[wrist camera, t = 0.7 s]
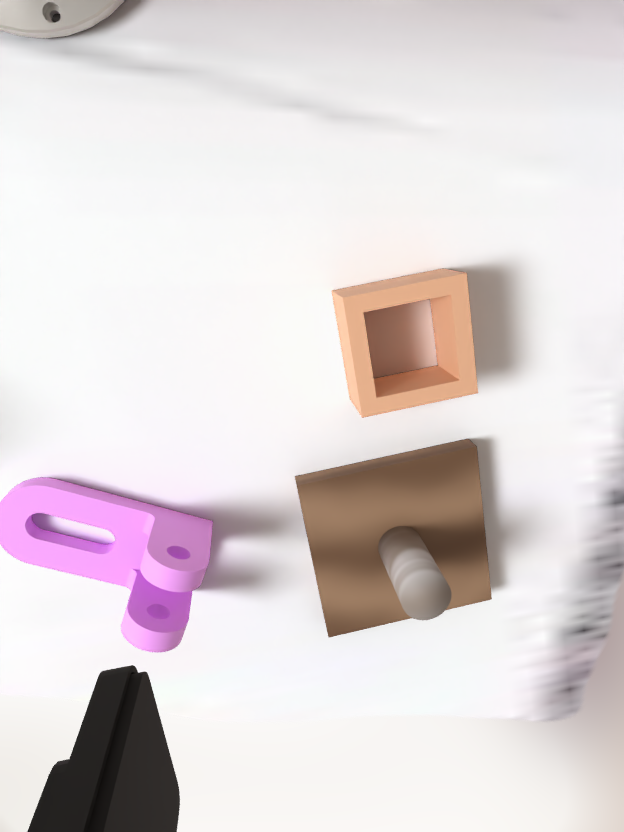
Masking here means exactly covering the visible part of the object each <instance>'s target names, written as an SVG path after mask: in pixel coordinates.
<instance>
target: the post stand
mask: <svg viewBox="0 0 624 832" xmlns="http://www.w3.org/2000/svg"><path fill="white" fill-rule="evenodd" d="M295 480H296V484H297V489H298V494H299V499H300V503H301V508H302V513H303V518H304V523H305V527H306V532H307V537H308V542H309V546H310V551H311V556H312V561H313V566H314V570H315V575H316V580H317V585H318V589H319V594H320V599H321V604H322V609H323V613H324V618H325V623H326V627H327V632H328V636H329V637H333V636H337V635H341V634H346V633H350V632H354V631H358V630H363V629H367V628H371V627H375V626H380V625H384V624H388V623H393V622H397V621H401V620H405V619H410V618H414V619H417V620H429V619H432V618H435V617H437V616H439V615H440V614H442V613H443V612H444V611H445V610H448V609H452V608H457V607H461V606H465V605H469V604H474V603H478V602H482V601H486V600H491V599H492V598H491V588H490V578H489V567H488V557H487V547H486V537H485V526H484V516H483V506H482V496H481V486H480V475H479V465H478V455H477V446H476V445H475V444H473V443H472V442H471V441H470V440H469V439H465V440H460V441H455V442H451V443H446V444H442V445H437V446H432V447H428V448H423V449H419V450H414V451H409V452H405V453H400V454H396V455H391V456H386V457H382V458H377V459H373V460H368V461H364V462H359V463H354V464H350V465H345V466H341V467H336V468H331V469H327V470H322V471H318V472H313V473H308V474H304V475H299V476H295Z"/></svg>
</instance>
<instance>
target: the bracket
mask: <svg viewBox="0 0 624 832" xmlns="http://www.w3.org/2000/svg"><path fill="white" fill-rule="evenodd" d="M35 513H44V514H48V515H52V516H56V517H60V518H64V519H68V520H72V521H76V522H79V523H83V524H87V525H91V526H95V527H99V528H103V529H106V530H108V531H110V532H111V533H112V534H113V535H114V537H115V540H116V541H115V542H113V543H111V544H99V543H95V542H91V541H87V540H83V539H79V538H75V537H71V536H67V535H63V534H59V533H55V532H51V531H47V530H43V529H40V528H39V527H37V526H36V525H35V524H34V522H33V520H32V514H35ZM212 526H213V521H211V520H207V519H203V518H200V517H196V516H192V515H188V514H185V513H181V512H177V511H173V510H170V509H166V508H162V507H159V506H155V505H151V504H147V503H144V502H140V501H136V500H132V499H129V498H125V497H121V496H118V495H114V494H110V493H106V492H103V491H99V490H95V489H92V488H88V487H84V486H80V485H77V484H73V483H69V482H65V481H62V480H58V479H54V478H44V477H42V478H33V479H29V480H26V481H23V482H21V483H20V484H18V485H16V486H15V487H14V488H13V489H11V491H10V492H9V493H8V494H7V495H6V496H5V497H4V498H3V499H2V501H1V502H0V544H1V546H2V547H3V548H4V549H5V550H6V551H7V552H8V553H9V554H10V555H12V556H13V557H15V558H16V559H18V560H20V561H23V562H25V563H29V564H33V565H37V566H41V567H45V568H50V569H54V570H58V571H62V572H66V573H71V574H75V575H79V576H83V577H88V578H92V579H96V580H100V581H104V582H109V583H113V584H117V585H121V586H125V587H127V588H129V589H130V591H131V594H130V597H129V600H128V604H127V607H126V611H125V614H124V617H123V621H122V624H121V631H122V634H123V636H124V637H125V639H126V640H127V641H128V642H129V643H130V644H132V645H133V646H135V647H137V648H139V649H142V650H145V651H149V652H165V651H169V650H172V649H174V648H175V647H177V646H178V645H179V643H180V642H181V640H182V637H183V634H184V631H185V628H186V626H187V623H188V620H189V612H190V605H191V597H192V591H193V590H195V589H197V588H198V587H199V586H200V585H201V583H202V581H203V578H204V575H205V572H206V569H207V567H208V564H209V560H210V549H211V537H212Z"/></svg>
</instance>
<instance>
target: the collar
mask: <svg viewBox="0 0 624 832" xmlns="http://www.w3.org/2000/svg"><path fill="white" fill-rule="evenodd" d="M332 296H333V301H334V307H335V313H336V319H337V325H338V331H339V337H340V343H341V349H342V355H343V361H344V367H345V373H346V379H347V385H348V391H349V397H350V400H351V401H352V403H353V404H354V406H355V407H356V409H357V410H358V412H359V413H360V415H361V417H362V418H363V417H368V416H373V415H377V414H382V413H387V412H392V411H396V410H401V409H406V408H410V407H415V406H420V405H424V404H429V403H434V402H438V401H443V400H448V399H453V398H457V397H462V396H467V395H471V394H476V393H478V388H477V377H476V366H475V356H474V345H473V334H472V324H471V313H470V302H469V292H468V281H467V273H464V272H459V271H454V270H448V269H438V270H433V271H428V272H423V273H418V274H413V275H408V276H402V277H397V278H392V279H387V280H382V281H377V282H372V283H367V284H362V285H357V286H352V287H347V288H342V289H337V290H332ZM427 299H430V302H431V311H432V319H433V328H434V337H435V345H436V354H437V363H438V365H437V366H432V367H428V368H423V369H418V370H413V371H408V372H404V373H399V374H394V375H389V376H385V377H380V378H375V379H374V378H373V372H372V365H371V359H370V352H369V345H368V339H367V332H366V326H365V319H364V313H363V312H368V311H373V310H378V309H383V308H388V307H392V306H397V305H402V304H407V303H412V302H417V301H422V300H427Z"/></svg>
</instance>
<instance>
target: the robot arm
mask: <svg viewBox="0 0 624 832" xmlns="http://www.w3.org/2000/svg"><path fill="white" fill-rule="evenodd" d="M124 1H125V0H0V30H1V31H4V32H8V33H11V34H14V35H18V36H24V37H35V38H52V37H61V36H69V35H71V34H74V33H77V32H80V31H83V30H86V29H89V28H91V27H93V26H94V25H96V24H97V23H99V22H100V21H102V20H104V19H105V18H107V17H108V16H110V15H111V14H112V13H113V12H114V11H115V10H116V9H117V8H118V7H119V6H120V5H121V4H122V3H123V2H124ZM56 13H58V14H60V15H61V18H60V20H59V21H58V22H56V23H55V22H53V21H52V17H53V15H54V14H56ZM179 805H180V796H179V787H178V782H177V778H176V775H175V771H174V768H173V764H172V760H171V757H170V753H169V749H168V746H167V742H166V738H165V735H164V731H163V727H162V724H161V720H160V717H159V713H158V709H157V705H156V702H155V698H154V694H153V691H152V687H151V683H150V680H149V676H148V674H147V672H140V673H138V672H137V669H136V667H135V666H133V665H132V666H126V667H121V668H116V669H111V670H106V671H102V672H101V673H100V675H99V677H98V679H97V682H96V685H95V688H94V691H93V694H92V696H91V699H90V702H89V705H88V708H87V711H86V714H85V716H84V720H83V722H82V725H81V728H80V731H79V734H78V736H77V739H76V742H75V745H74V748H73V751H72V754H71V756H70V759H68V760H63V761H58V762H57V763H56V764H55V765H54V766H53V768H52V770H51V772H50V774H49V776H48V779H47V782H46V784H45V787H44V789H43V792H42V795H41V797H40V800H39V803H38V806H37V808H36V811H35V813H34V816H33V818H32V821H31V824H30V826H29V829H28V832H177V824H178V815H179Z"/></svg>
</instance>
